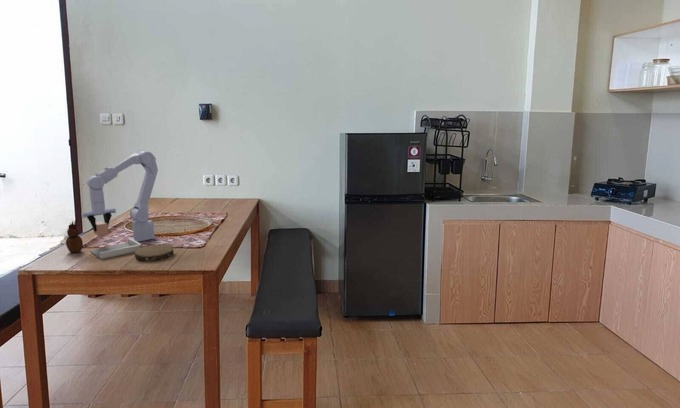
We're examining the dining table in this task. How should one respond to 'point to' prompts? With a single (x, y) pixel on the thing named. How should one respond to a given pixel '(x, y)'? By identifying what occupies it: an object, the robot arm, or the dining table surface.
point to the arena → (117, 249)
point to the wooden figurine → (74, 239)
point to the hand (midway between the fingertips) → (100, 229)
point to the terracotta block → (101, 228)
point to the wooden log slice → (154, 253)
